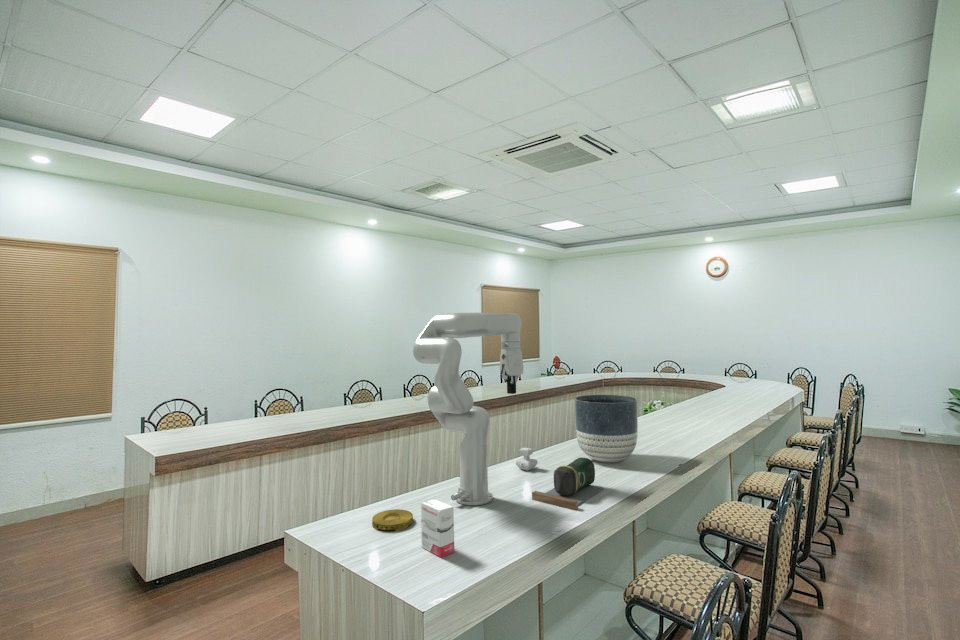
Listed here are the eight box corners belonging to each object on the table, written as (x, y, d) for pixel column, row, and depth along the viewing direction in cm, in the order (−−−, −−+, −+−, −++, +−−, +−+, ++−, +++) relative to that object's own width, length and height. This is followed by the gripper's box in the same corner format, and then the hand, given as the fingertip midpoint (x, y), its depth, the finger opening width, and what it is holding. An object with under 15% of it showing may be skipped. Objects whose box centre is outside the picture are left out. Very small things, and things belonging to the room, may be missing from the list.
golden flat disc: (381, 515, 146) (381, 508, 146) (417, 517, 144) (417, 510, 144) (365, 531, 134) (365, 523, 134) (405, 533, 132) (405, 526, 132)
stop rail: (574, 510, 147) (574, 502, 147) (532, 499, 157) (532, 492, 157) (577, 508, 148) (577, 500, 148) (535, 497, 158) (535, 490, 158)
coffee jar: (575, 455, 174) (550, 466, 160) (595, 458, 169) (571, 470, 155) (576, 481, 174) (551, 495, 159) (596, 485, 169) (572, 499, 154)
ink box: (455, 551, 120) (454, 505, 121) (440, 558, 117) (439, 511, 117) (435, 541, 126) (434, 497, 127) (420, 547, 123) (419, 502, 123)
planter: (564, 460, 205) (562, 399, 205) (598, 449, 223) (596, 393, 223) (617, 472, 185) (615, 405, 186) (650, 459, 203) (648, 398, 204)
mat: (575, 507, 149) (575, 505, 149) (538, 498, 158) (538, 496, 158) (603, 489, 166) (603, 487, 166) (568, 482, 174) (568, 480, 174)
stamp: (527, 473, 187) (526, 452, 187) (513, 470, 191) (513, 449, 191) (539, 468, 193) (539, 447, 194) (526, 465, 198) (526, 445, 198)
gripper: (507, 347, 173) (508, 396, 172) (529, 345, 184) (530, 392, 184) (491, 346, 178) (492, 394, 177) (513, 345, 189) (514, 390, 189)
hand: (511, 393), depth 181 cm, fingers closed
